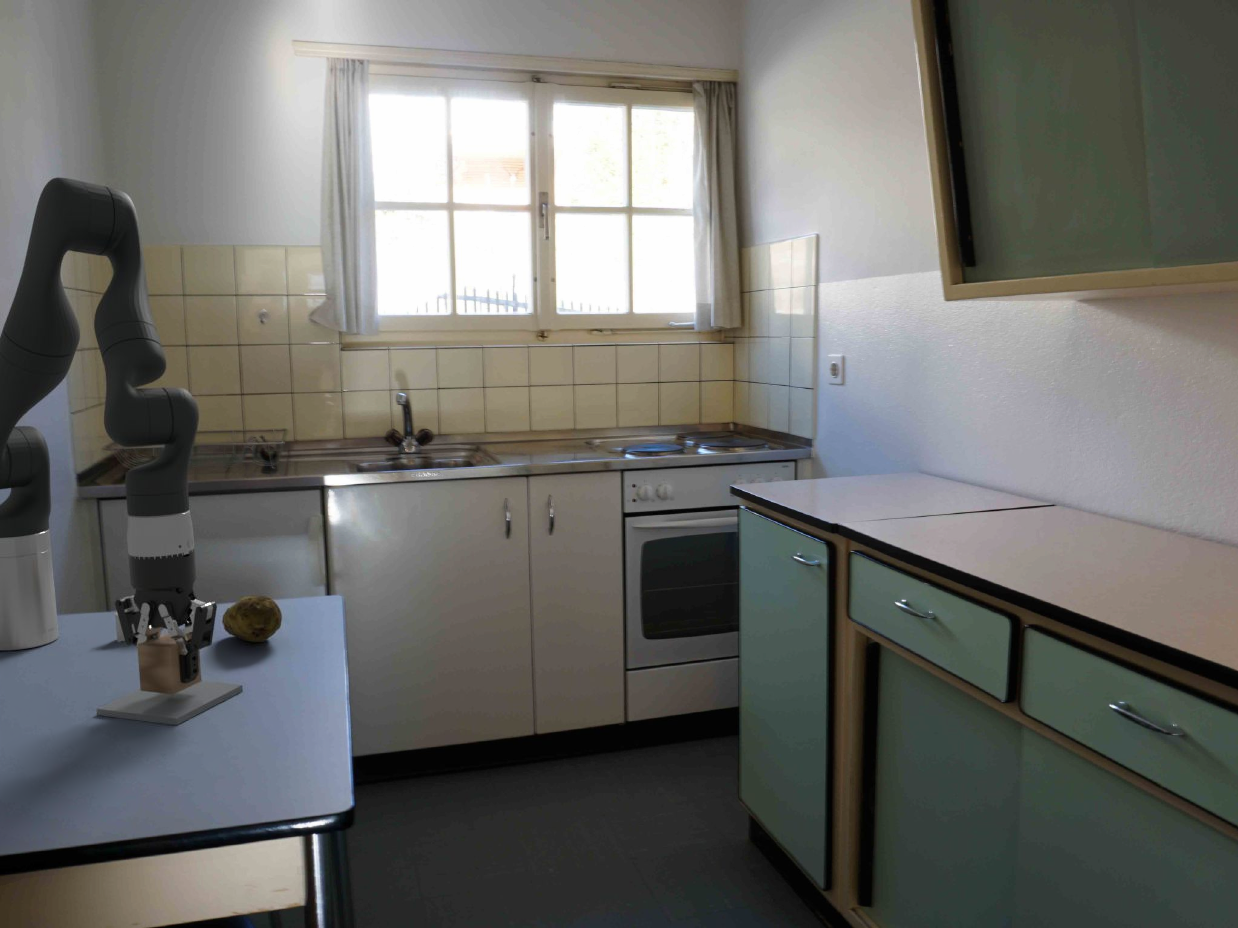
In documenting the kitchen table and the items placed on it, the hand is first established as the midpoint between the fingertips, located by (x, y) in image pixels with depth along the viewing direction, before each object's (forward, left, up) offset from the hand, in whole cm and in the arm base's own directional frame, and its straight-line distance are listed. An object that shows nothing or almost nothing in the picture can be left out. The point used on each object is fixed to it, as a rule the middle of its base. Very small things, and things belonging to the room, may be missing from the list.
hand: (170, 678), depth 125 cm
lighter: (-25, +22, -3) cm, 33 cm away
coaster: (0, 0, -3) cm, 3 cm away
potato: (-6, +24, -3) cm, 25 cm away
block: (0, 0, -1) cm, 1 cm away
